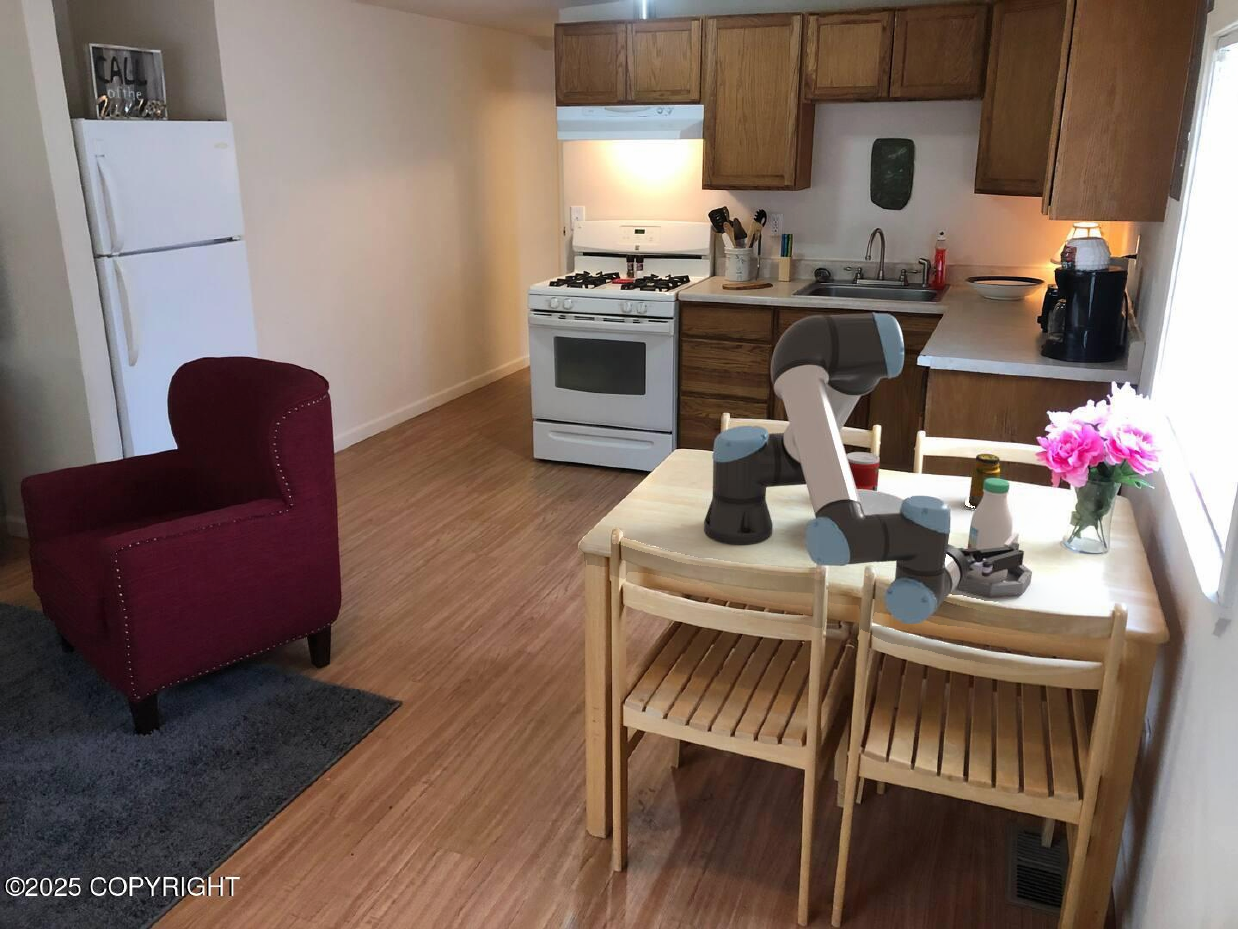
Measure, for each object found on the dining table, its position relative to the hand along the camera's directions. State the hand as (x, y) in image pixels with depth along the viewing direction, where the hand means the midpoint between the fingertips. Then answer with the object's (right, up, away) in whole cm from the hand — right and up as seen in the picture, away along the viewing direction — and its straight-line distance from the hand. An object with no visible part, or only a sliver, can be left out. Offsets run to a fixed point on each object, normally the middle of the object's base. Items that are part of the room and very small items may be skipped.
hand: (977, 531), depth 177 cm
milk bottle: (+6, -10, +11) cm, 16 cm away
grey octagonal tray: (+6, -10, +12) cm, 17 cm away
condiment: (+19, +2, +49) cm, 53 cm away
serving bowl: (-13, -3, +34) cm, 37 cm away
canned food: (-9, +4, +54) cm, 54 cm away
